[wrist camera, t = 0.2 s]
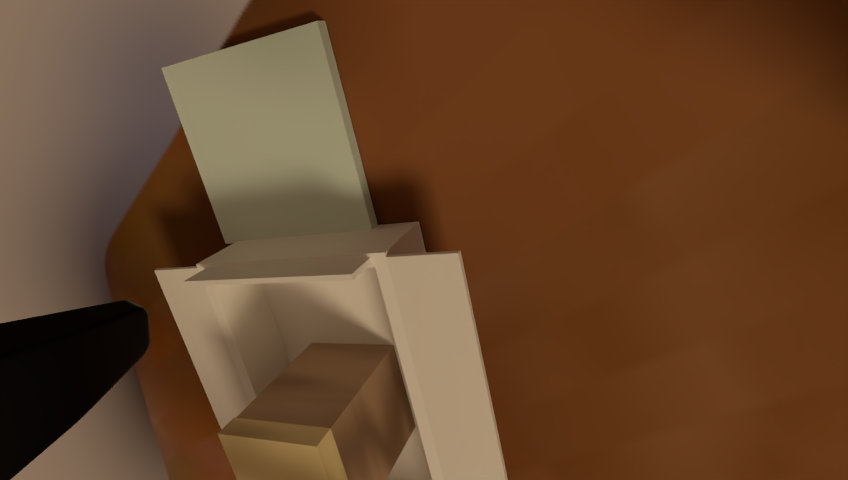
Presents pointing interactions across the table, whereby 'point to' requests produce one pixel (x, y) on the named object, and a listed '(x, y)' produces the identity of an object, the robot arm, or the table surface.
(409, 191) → the table surface
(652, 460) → the table surface
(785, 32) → the table surface
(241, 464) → the tea box
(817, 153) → the table surface
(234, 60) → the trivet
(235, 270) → the cream tray
